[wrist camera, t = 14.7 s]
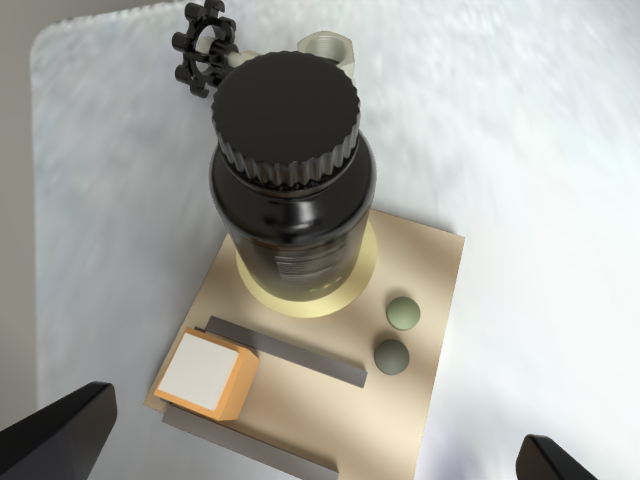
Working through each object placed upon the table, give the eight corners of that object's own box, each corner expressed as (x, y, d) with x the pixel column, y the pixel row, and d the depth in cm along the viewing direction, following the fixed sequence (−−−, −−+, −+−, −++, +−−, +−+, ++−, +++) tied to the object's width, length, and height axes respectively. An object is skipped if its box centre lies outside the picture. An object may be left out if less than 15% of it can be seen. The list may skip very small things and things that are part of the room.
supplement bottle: (374, 224, 24) (422, 63, 13) (330, 324, 21) (342, 230, 10) (276, 184, 25) (244, 7, 14) (223, 275, 22) (132, 145, 12)
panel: (399, 513, 19) (407, 522, 17) (148, 410, 21) (134, 410, 19) (459, 241, 25) (469, 229, 23) (260, 181, 27) (257, 165, 25)
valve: (366, 104, 30) (233, 56, 32) (378, 27, 24) (213, -26, 26) (331, 168, 28) (189, 112, 30) (334, 99, 22) (156, 35, 24)
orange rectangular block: (237, 419, 19) (215, 420, 15) (183, 397, 20) (147, 394, 16) (260, 360, 21) (245, 347, 16) (209, 341, 21) (182, 323, 17)
